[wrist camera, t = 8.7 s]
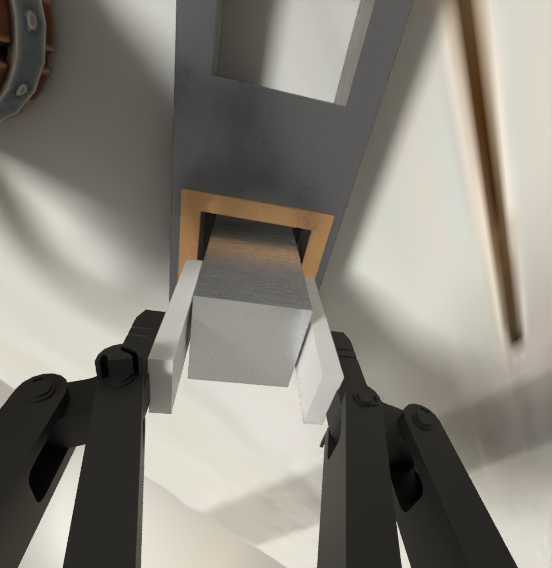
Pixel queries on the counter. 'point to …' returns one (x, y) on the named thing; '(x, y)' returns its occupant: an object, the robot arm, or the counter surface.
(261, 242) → the steel peg
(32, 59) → the mug
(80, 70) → the counter surface
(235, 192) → the rail plate
